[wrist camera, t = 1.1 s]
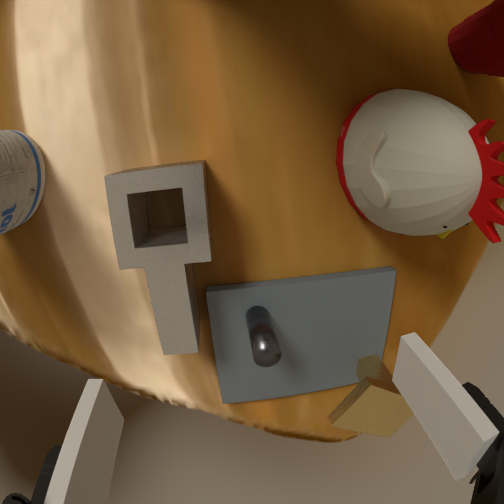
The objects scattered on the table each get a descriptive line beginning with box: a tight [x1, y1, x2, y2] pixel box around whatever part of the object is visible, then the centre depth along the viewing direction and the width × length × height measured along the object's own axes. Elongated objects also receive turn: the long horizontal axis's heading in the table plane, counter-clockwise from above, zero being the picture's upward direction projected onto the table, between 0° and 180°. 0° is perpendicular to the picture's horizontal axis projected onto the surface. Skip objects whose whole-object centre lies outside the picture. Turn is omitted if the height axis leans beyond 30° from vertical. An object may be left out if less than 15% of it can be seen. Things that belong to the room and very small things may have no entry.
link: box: [105, 160, 212, 355], centre depth 25 cm, size 15×7×6 cm, turn 3°
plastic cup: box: [448, 0, 504, 77], centre depth 18 cm, size 11×11×12 cm
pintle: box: [246, 306, 282, 367], centre depth 27 cm, size 2×2×6 cm
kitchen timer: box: [336, 89, 504, 243], centre depth 21 cm, size 14×14×15 cm
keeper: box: [327, 354, 414, 437], centre depth 29 cm, size 5×9×9 cm, turn 58°
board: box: [206, 266, 396, 404], centre depth 32 cm, size 14×19×1 cm
